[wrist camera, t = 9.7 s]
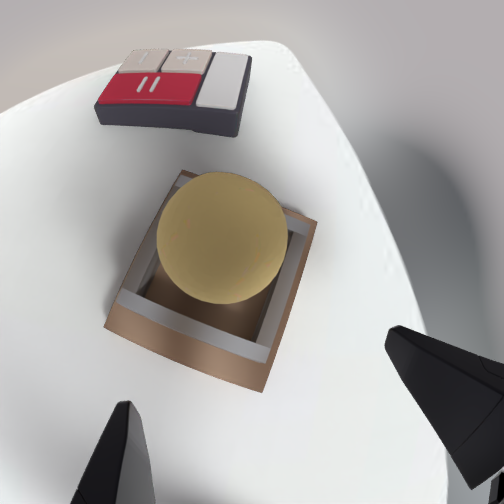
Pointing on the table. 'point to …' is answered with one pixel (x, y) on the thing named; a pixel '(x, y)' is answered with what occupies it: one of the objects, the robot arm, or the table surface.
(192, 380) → the table surface
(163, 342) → the square frame
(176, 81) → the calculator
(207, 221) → the light bulb
